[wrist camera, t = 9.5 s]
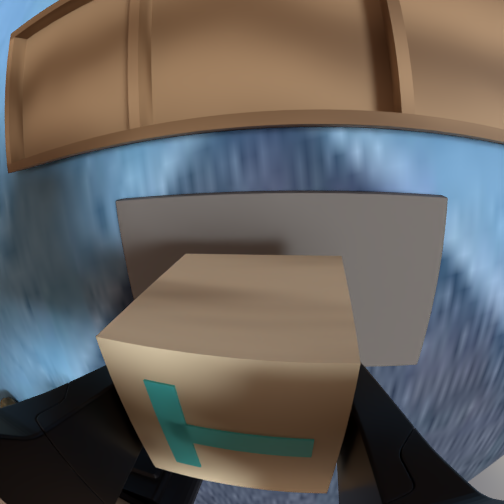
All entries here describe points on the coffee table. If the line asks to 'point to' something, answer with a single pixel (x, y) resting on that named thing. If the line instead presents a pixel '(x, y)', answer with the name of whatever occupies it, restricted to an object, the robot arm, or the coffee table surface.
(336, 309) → the letter block
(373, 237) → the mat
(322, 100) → the bay tray
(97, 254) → the coffee table surface
